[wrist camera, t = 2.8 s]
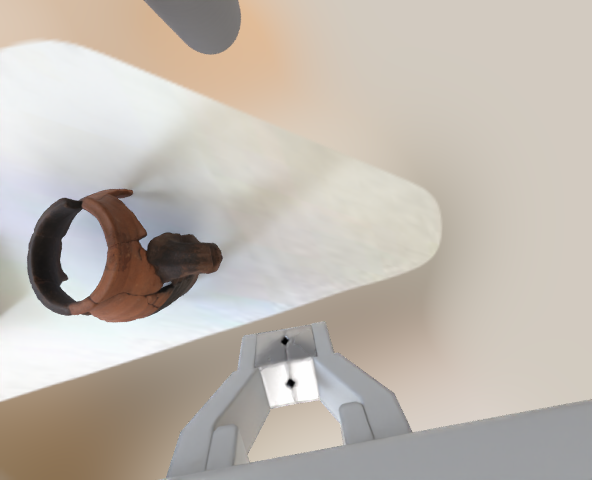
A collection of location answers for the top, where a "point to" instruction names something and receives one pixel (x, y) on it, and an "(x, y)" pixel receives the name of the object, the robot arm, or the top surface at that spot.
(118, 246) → the pottery mug
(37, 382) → the top surface
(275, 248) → the top surface
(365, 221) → the top surface
